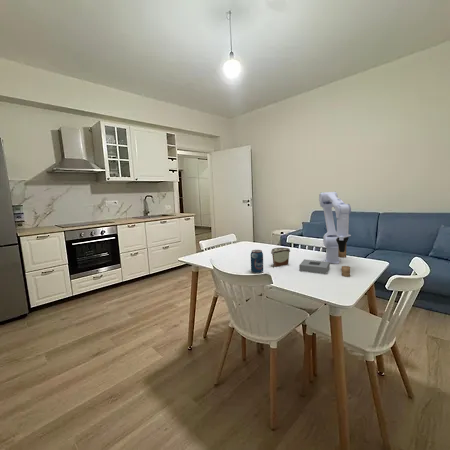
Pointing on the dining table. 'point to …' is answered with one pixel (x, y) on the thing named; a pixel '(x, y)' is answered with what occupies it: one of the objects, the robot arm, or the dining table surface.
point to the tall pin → (342, 253)
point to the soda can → (256, 261)
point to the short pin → (345, 271)
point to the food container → (280, 256)
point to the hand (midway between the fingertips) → (342, 251)
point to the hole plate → (314, 266)
